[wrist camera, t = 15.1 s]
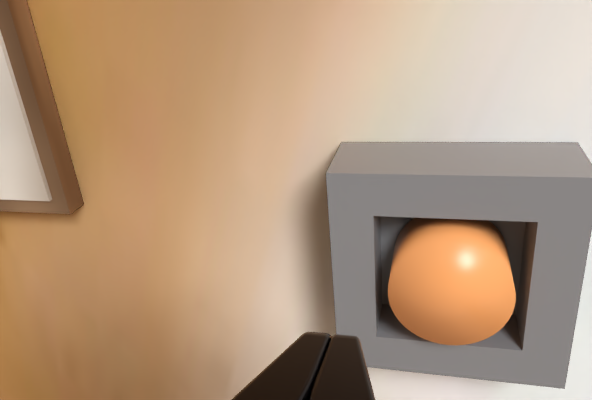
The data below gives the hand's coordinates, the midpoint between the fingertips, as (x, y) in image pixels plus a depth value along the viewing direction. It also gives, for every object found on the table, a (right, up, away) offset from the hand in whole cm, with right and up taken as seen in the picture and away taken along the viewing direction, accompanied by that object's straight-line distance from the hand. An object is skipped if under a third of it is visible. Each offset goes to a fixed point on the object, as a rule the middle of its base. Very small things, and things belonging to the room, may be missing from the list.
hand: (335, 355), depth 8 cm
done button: (+5, 0, +11) cm, 12 cm away
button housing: (+5, +1, +12) cm, 13 cm away
